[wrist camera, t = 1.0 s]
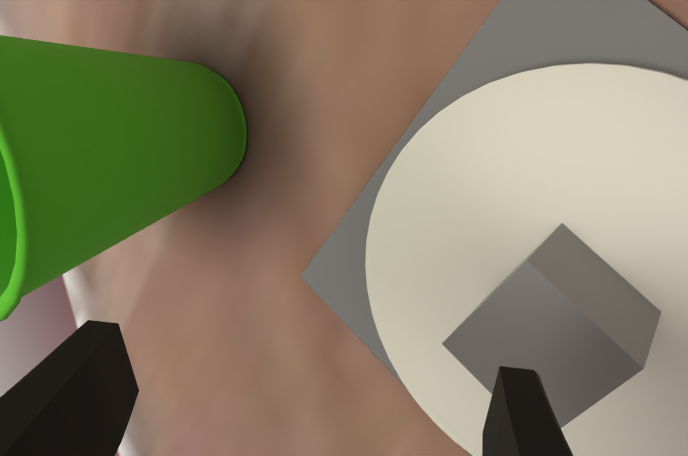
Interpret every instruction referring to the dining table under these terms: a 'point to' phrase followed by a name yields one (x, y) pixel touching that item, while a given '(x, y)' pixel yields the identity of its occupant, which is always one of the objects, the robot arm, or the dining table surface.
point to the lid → (544, 255)
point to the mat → (476, 71)
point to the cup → (101, 152)
